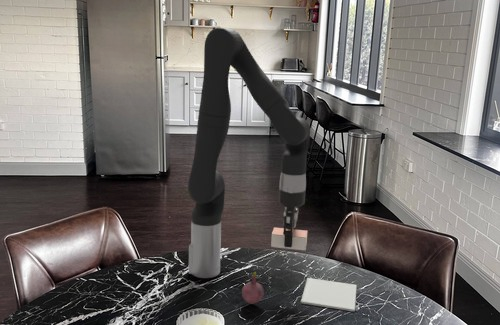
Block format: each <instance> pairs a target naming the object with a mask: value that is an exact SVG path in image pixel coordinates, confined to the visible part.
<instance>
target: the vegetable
mask: <svg viewBox="0 0 500 325" xmlns="http://www.w3.org/2000/svg"><path fill="white" fill-rule="evenodd" d="M256 280H257V272H256V271H254V272H253V275H252V278H251V281H248V282H247V283H245V284H244V285H243V286H242V290H241V295H242V298H243V300H244V301H245V302H246V303H248V304H252V305H255V304H257V303H259V302H260V301H261V300H262V299H263V297H264V295H265V291H264V290H265V289H264V288H263V286H262V285H261V284H260V283H259V282H257V281H256Z"/></svg>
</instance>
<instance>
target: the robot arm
mask: <svg viewBox="0 0 500 325" xmlns="http://www.w3.org/2000/svg"><path fill="white" fill-rule="evenodd" d="M203 48H204V52H203V56H204V57H203V80H202V86H201V87H202V88H201V95H200V103H199V108H198V117H197V123H196V124H197V127H196V135H195V136H196V137H195V146H194V155H193V159H192V160H193V161H192V166H191V170H190V174H189V178H188V183H187V191H188V194H189V197H190V198H191V200H192V201H193V202H194V203H195V205H194V208H193V209H192V212H191V215H190V216H191V217H190V218H191V219H190V220H191V223H190V226H191V228H190V229H191V232H190V238H191V241H190V242H191V243H190V244H189V245H188V274H190V275H192V276H193V277H196V278H200V279H211V278H215V277H217V276H218V275H220V273H221V251H222V250H221V242H222V239H221V238H222V216H223V214H224V213H223V212H224V207H225V190H226V187H225V186H226V185H225V178H224V177H223V174H222V173H221V172H220V171H218V170H217V168H218V167H217V166H218V160H219V157H220V154H221V152H222V149H223V147H224V145H225V142H226V139H227V138H228V133H229V128H230V123H231V121H230V120H231V114H232V103H231V96H230V91H229V74H230V69H231V67H232V69H234V70H235V71H236V72H237V74H238V75H239V76H240V78H241V79H242V80H243V82H244V85H245V86H246V88H247V89H248V91H249V93H250V96H251V98H252V99H253V100H254V101H255V102H256V105H258V107H259V108H260V109H261V110H262V112H263V113H264V114H265V115H266V116H267V118H268V119H269V120H270V122H271V123H272V125H273V128H274V130H275V131H276V133H277V134H278V136H279V137H280V138H281V140H283V142H285V148H284V152H283V154H282V157H281V164H280V165H281V166H280V168H281V169H280V178H279V190H278V192H279V193H278V203H279V204H280V205H282V206H285V207H284V210H283V224H282V225H283V228H284V232H283V235H285V240H284V246H285V247H292V237H293V229H295V230H296V226H297V222H298V218H299V216H298V215H299V208H298V207H302V206H303V205H305V202H306V190H307V189H306V188H307V177H306V176H307V175H306V173H307V154H308V150H309V146H310V139H311V126H310V123H309V122H308V121H307V120H306V119H305V118H303V117H296V115H295V114H294V113H293V112H292V110H291V108H290V104H289V102H288V100H287V99H286V97H285V96H284V95H283V94H282V93H281V91H280V90H279V88H278V87H277V86H275V84H274V83H273V82H272V80H270V78H269V77H268V76H267V74H266V73H265V72H264V70H263V69H262V68H261V67H260V65H259V64H258V62H257V61H256V59H255V58H254V56H253V54H252V53H251V51H250V49H249V48H248V46H247V44H246V42H245V41H244V39H243V37H242V36H241V34H240V33H239V32H238V31H237V30H235V29H232V28H227V27H215V28H213V29H211V30H210V31H209V32H208V33H207V35H206V38H205V40H204V47H203ZM287 229H291V231H286V230H287Z"/></svg>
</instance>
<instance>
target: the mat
mask: <svg viewBox="0 0 500 325" xmlns="http://www.w3.org/2000/svg"><path fill="white" fill-rule="evenodd" d="M357 286H358V285H357V284H353V283H347V282H339V281H333V280H332V281H330V280H325V279H320V278H319V279H318V278H311V277H307V279H306V282H305V285H304V289H303V293H302V297H301V300H300V304H303V305H310V306H315V307H316V306H317V307H324V308H330V309H336V310H342V311H348V312H349V311H350V312H355V311H356V300H357Z"/></svg>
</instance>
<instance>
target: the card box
mask: <svg viewBox="0 0 500 325" xmlns="http://www.w3.org/2000/svg"><path fill="white" fill-rule="evenodd" d="M286 231H291V229H287V230H286ZM283 232H284V227H273V230H272V232H271V238H270V239H271V240H270V241H271V242H270V247H271V248H278V249H279V248H280V249H289V250H297V251H306V250H307V243H308V232H309V231H308V230H305V229H304V230H303V229H296V228H295V229H293V237H292V247H285V246H284V240H285V235H283Z"/></svg>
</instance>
